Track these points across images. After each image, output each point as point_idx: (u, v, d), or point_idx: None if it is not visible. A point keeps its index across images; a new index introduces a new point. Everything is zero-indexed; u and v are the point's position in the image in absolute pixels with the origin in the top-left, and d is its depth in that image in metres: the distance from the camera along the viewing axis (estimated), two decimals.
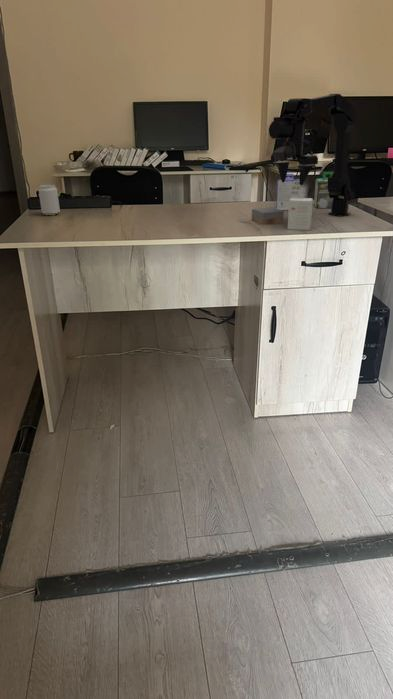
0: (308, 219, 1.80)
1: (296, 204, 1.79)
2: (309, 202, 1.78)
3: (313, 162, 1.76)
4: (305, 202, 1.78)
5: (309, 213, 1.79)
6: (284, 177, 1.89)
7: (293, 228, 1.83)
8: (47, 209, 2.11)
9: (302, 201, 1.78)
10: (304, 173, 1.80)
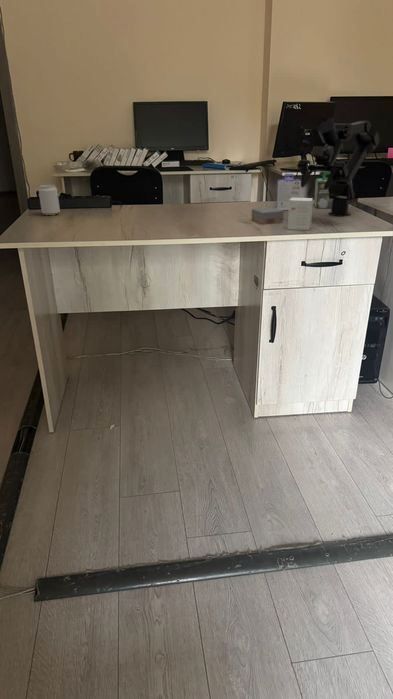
0: (308, 219, 1.80)
1: (296, 204, 1.79)
2: (309, 202, 1.78)
3: (345, 172, 1.81)
4: (305, 202, 1.78)
5: (309, 213, 1.79)
6: (304, 183, 1.88)
7: (293, 228, 1.83)
8: (47, 209, 2.11)
9: (302, 201, 1.78)
10: (331, 179, 1.82)
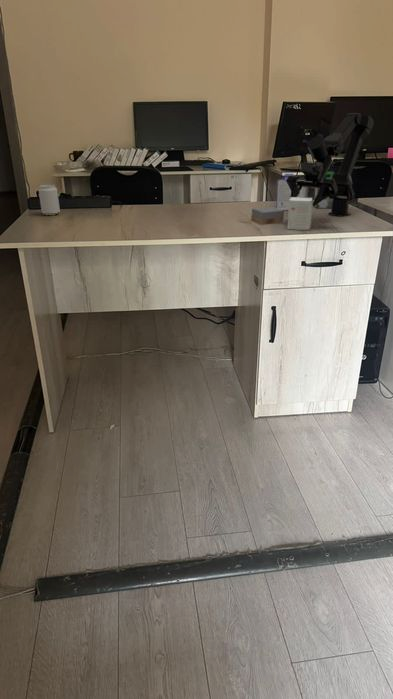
0: (308, 219, 1.80)
1: (295, 204, 1.79)
2: (309, 202, 1.77)
3: (335, 188, 1.78)
4: (305, 202, 1.78)
5: (309, 213, 1.79)
6: None
7: (293, 228, 1.83)
8: (47, 209, 2.11)
9: (302, 201, 1.78)
10: (321, 196, 1.79)
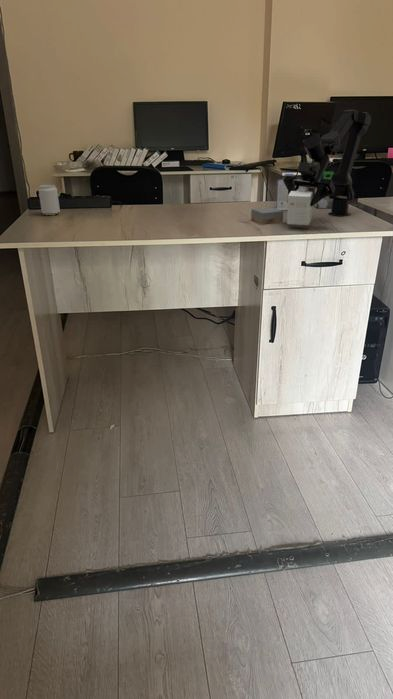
0: (307, 214, 1.79)
1: (294, 199, 1.78)
2: (308, 198, 1.76)
3: (332, 188, 1.76)
4: (304, 198, 1.76)
5: (308, 208, 1.78)
6: None
7: (293, 223, 1.83)
8: (47, 209, 2.11)
9: (301, 197, 1.76)
10: (318, 196, 1.78)
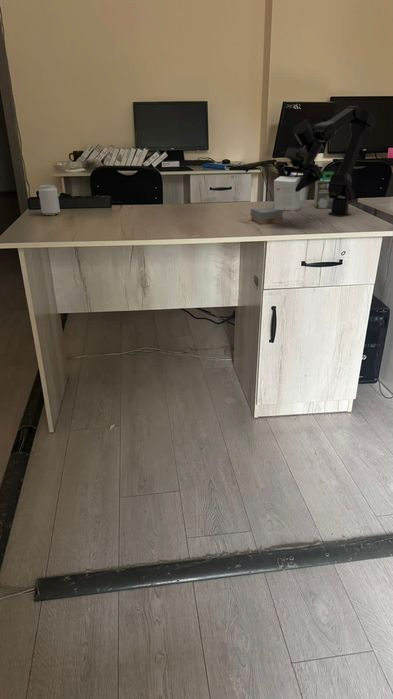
0: (293, 200, 1.80)
1: (280, 184, 1.80)
2: (292, 183, 1.77)
3: (318, 174, 1.76)
4: (289, 183, 1.78)
5: (293, 194, 1.79)
6: None
7: (279, 208, 1.84)
8: (47, 209, 2.11)
9: (286, 182, 1.78)
10: (304, 182, 1.78)
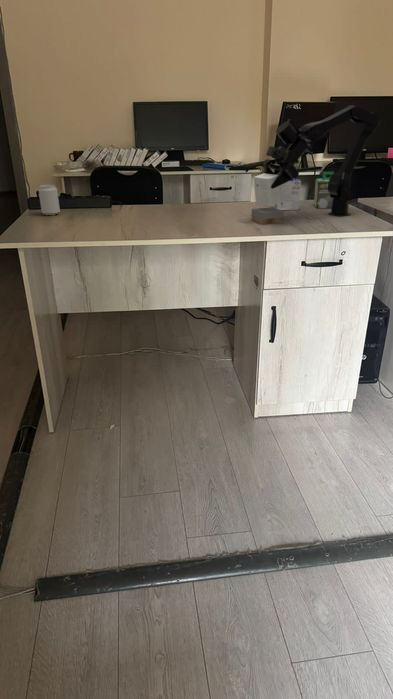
0: (269, 196, 1.88)
1: (258, 181, 1.89)
2: (267, 180, 1.85)
3: (292, 172, 1.82)
4: (265, 180, 1.86)
5: (269, 190, 1.87)
6: None
7: (259, 203, 1.94)
8: (47, 209, 2.11)
9: (263, 179, 1.87)
10: (280, 179, 1.85)
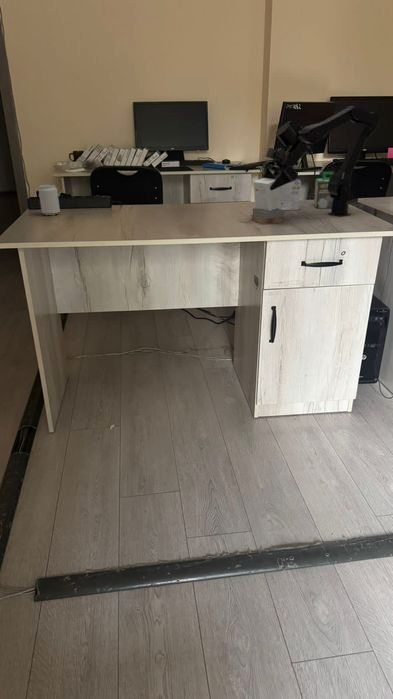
0: (268, 201, 1.89)
1: (258, 185, 1.90)
2: (266, 185, 1.86)
3: (292, 174, 1.82)
4: (264, 184, 1.87)
5: (268, 195, 1.88)
6: None
7: (259, 208, 1.95)
8: (47, 209, 2.11)
9: (262, 183, 1.88)
10: (279, 181, 1.86)
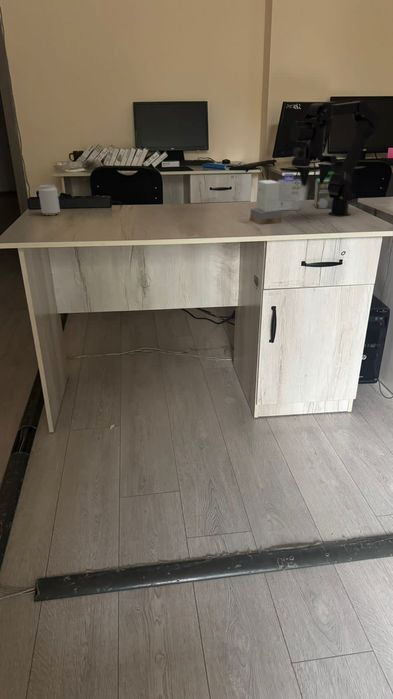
0: (264, 201, 1.90)
1: (260, 185, 1.92)
2: (265, 185, 1.87)
3: (297, 164, 1.86)
4: (263, 184, 1.88)
5: (265, 195, 1.89)
6: (321, 178, 1.96)
7: (259, 208, 1.96)
8: (47, 209, 2.11)
9: (262, 183, 1.89)
10: (302, 174, 1.90)
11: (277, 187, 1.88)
